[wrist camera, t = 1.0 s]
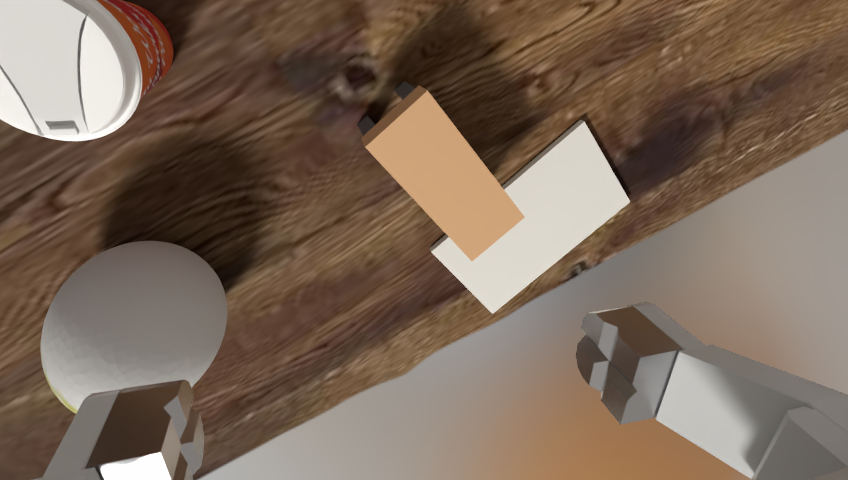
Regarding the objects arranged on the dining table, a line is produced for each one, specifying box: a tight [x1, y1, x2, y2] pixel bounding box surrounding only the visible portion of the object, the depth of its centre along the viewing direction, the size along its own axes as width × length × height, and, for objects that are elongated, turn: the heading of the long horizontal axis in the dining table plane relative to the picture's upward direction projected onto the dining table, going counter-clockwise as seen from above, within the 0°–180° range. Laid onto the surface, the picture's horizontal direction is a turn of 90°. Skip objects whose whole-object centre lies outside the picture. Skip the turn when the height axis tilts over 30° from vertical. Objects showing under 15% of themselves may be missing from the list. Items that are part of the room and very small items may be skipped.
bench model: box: [357, 81, 525, 261], centre depth 39 cm, size 14×6×8 cm, turn 39°
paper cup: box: [0, 0, 173, 141], centre depth 27 cm, size 8×8×14 cm
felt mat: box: [429, 120, 630, 314], centre depth 49 cm, size 20×12×1 cm, turn 129°
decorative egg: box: [41, 241, 227, 413], centre depth 35 cm, size 12×12×15 cm
